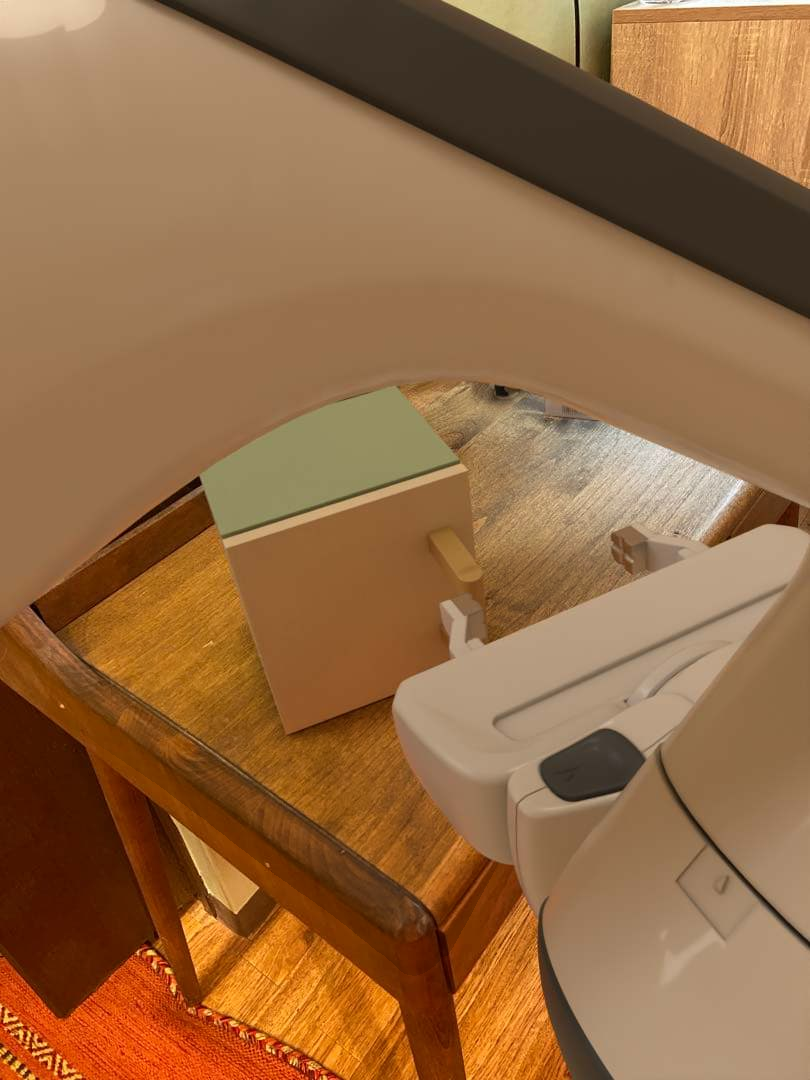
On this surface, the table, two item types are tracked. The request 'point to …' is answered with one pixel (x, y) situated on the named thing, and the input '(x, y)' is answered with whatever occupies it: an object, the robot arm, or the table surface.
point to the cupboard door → (357, 593)
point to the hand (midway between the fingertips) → (540, 572)
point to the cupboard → (323, 463)
